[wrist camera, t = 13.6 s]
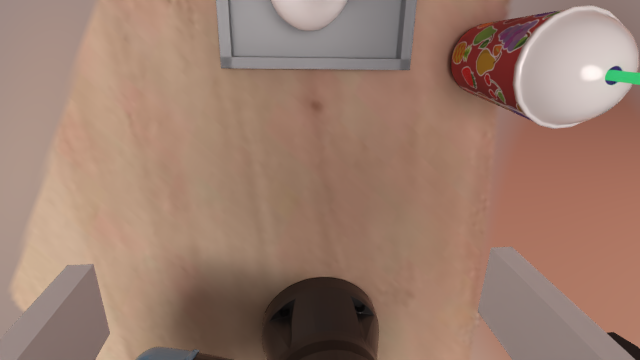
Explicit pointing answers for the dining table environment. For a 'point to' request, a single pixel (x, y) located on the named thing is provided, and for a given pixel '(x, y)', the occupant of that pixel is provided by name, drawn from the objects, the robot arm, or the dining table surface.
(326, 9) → the white trefoil knot
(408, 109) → the dining table surface
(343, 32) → the tray
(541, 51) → the smoothie
